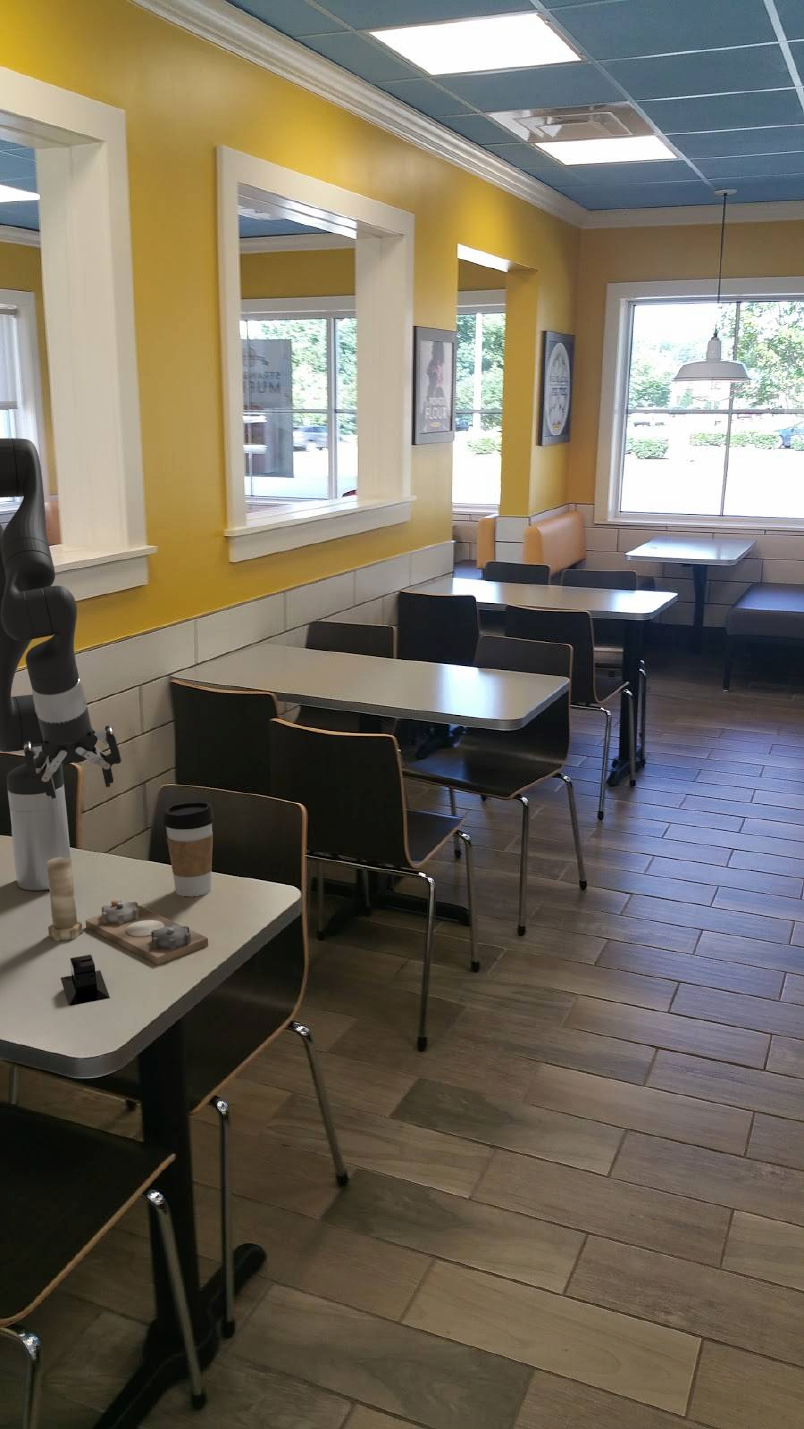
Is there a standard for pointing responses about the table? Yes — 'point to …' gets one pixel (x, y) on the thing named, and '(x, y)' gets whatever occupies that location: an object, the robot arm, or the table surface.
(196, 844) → the coffee cup
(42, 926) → the table surface
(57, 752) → the robot arm
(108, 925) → the gear board
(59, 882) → the spindle gear
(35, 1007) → the table surface
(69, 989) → the black block stand
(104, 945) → the table surface
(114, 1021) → the table surface
